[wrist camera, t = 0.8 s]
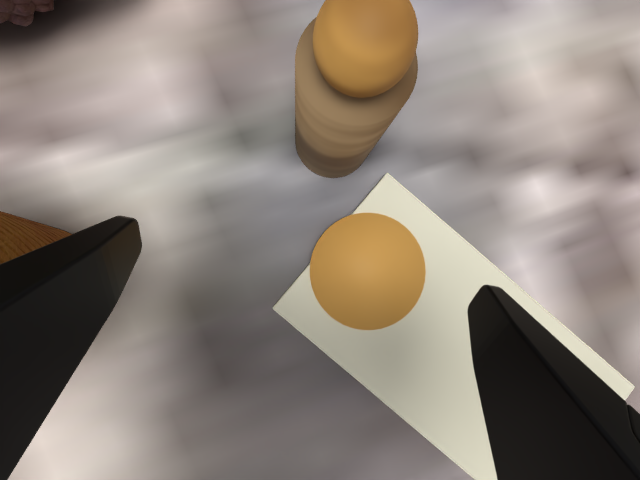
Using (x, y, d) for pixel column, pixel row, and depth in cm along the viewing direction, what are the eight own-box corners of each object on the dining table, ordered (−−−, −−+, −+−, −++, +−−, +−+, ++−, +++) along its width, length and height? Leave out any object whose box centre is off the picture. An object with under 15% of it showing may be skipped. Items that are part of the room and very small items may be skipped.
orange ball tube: (336, 193, 22) (386, 116, 10) (280, 144, 22) (260, 7, 10) (383, 138, 23) (486, 0, 10) (328, 89, 22) (366, -106, 10)
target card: (531, 524, 22) (541, 535, 21) (265, 300, 22) (264, 302, 21) (629, 387, 23) (643, 393, 22) (377, 169, 22) (380, 165, 22)
